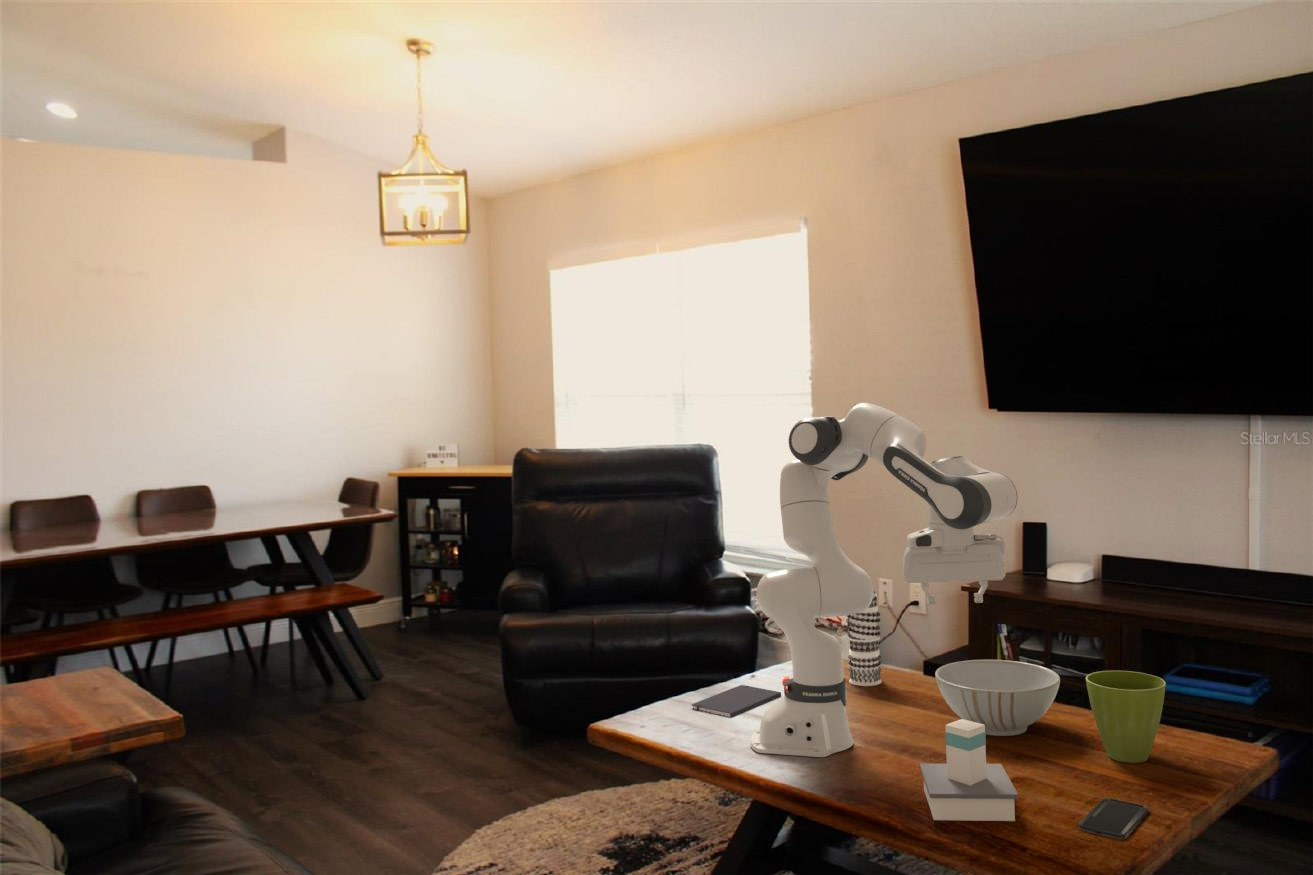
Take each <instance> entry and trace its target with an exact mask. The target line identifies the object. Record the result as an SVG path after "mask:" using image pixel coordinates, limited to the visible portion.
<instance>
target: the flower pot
mask: <svg viewBox="0 0 1313 875" xmlns="http://www.w3.org/2000/svg"><path fill="white" fill-rule="evenodd" d="M1085 676H1086V677H1085V683H1086V690H1087V693H1088V697H1089V698H1088V699H1089V703H1090V707H1091V710H1092V715H1093V717H1094V722H1095V725H1096V728H1097V731H1098V733H1099V737H1100V739H1101V742H1102V744H1103V746H1104V748H1105V752H1106V754H1107V756H1108V758H1110V759H1112V760H1114V761H1117V762H1121V763H1128V764H1129V763H1130V764H1134V763H1135V764H1136V763H1137V764H1138V763H1144V762H1146V761H1147V760H1148V759H1149V756H1150V754H1151V751H1152V748H1153V746H1154V743H1155V739H1156V737H1157V734H1158V729H1159V725H1160V722H1161V717H1162V712H1163V706H1164V702H1165V701H1164V700H1165V695H1166V684H1167V683H1166V681H1165V680H1164V679H1163V678H1161V677H1159V676H1156V675H1153V674H1148V673H1145V672H1138V671H1130V670H1129V671H1128V670H1102V671H1096V672H1095V671H1094V672H1092V673H1089V674H1087V675H1085Z"/></svg>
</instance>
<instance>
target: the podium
mask: <svg viewBox="0 0 1313 875" xmlns="http://www.w3.org/2000/svg"><path fill="white" fill-rule="evenodd" d="M919 769H920V773H921V775H922V778H923V791H924V794H925V797H926V800H927V803H928V806H929V809H930V813H931V816H932V818H933V821H968V822H969V821H972V822H973V821H974V822H975V821H976V822H977V821H978V822H979V821H980V822H981V821H983V822H987V821H988V822H989V821H990V822H992V821H993V822H994V821H995V822H1016V818H1015V817H1016V815H1015V814H1016V811H1015V809H1016V808H1015V800H1019V794H1018V792H1017V790H1016V788H1015V786H1014V785H1013V783H1012V781H1011V779H1010V777H1009V775H1008V774H1007V772H1006V770H1005V768H1004V766H1003V765H1002V763H986V776H987V778H986V779H984V780H982V781H979V782H977V783H975V784H973V785H967V784H964V783H961V782H958V781H954V780H951V779H948V778H947V763H919Z"/></svg>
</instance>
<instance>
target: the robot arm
mask: <svg viewBox="0 0 1313 875" xmlns="http://www.w3.org/2000/svg"><path fill="white" fill-rule="evenodd" d="M788 447H789V451H790V452H791V454H792V456H794V457H795V458H796V459H793V460H791V461H789V462H787V463H786V464H785V465H784V466H783V467H782V469H781V471H780V480H779V482H780V483H779V504H780V513H781V524H782V526H781V527H782V533H783V535H782V536H783V540H784V542H785V543H786V545H787V546H788V547H789V548H790V549H792V550H793V551H794V552H797V553H799V554H802V555H804V556H805V557H807V558H808V559H809V560H810V561H811V563H812V565H813V567H803V568H802V567H799V568H798V567H797V568H784V569H779V570H776V571H771V572H768V573H765V574H764V575H763V576H762V577H761V578H760V580H759V582H758V584H757V586H756V595H755V596H756V601H757V604H758V607H759V608H760V610H761V612H762V613H763V614H764V615H765V616H766V617H767V618H769V619H770V620H772V621H773V622H774V623H775V624H777V626H779V627H780V628H781V630H782V632H783V633H784V635H785V638H786V639H787V641H788V645H789V648H790V655H791V664H792V678H790V676H784V677H783V678H782V686H783V692H784V693H783V694H784V696H783V697H781V698H780V699H779V700H777V701H776V702H775V703H774V704H772V705H771V706H769V707H768V708H766V710H765V711H764V713H763V715H762V718H761V721H760V728H759V729H757V730H755V731H754V732H753V733H752V735H751V737H750V747H751V749H752V750H753V751H755V752H756V753H758V754H770V755H771V754H773V755H785V756H786V755H787V756H798V757H799V756H801V757H813V758H825V757H828V756H831V755H832V754H835V753H838V752H843V751H845V750H848V749H850V748H851V747H852V746H853V745H854V739H853V736H852V733H851V730H850V726H849V721H848V720H849V719H848V714H847V707H846V705H847V701H848V693H847V692H848V691H847V689H848V688H847V682H846V678H844V658H843V657H844V656H843V653H844V652H843V646H842V644H841V643H840V641H839V640H838V638H836V637H834V636H833V635H831V634H829V633H828V632H825V631H823V630H821V629H820V630H819V629H818V628H816V626H815V619H818V618H831V617H834V618H835V617H847V615H851V614H855V613H859V612H862V611H865V610H867V608H868V607H869V606H870V604H871V602H872V599H873V594H874V591H875V590H874V584H873V583H874V582H872V579H871V576H870V575H869V574H868V573H867V571H865V570H864V569H863V568H862V567H860V566H859V565H857V564H856V563H855V562H853V561H852V560H851V559H850V558H849V557H848V556H847V555H846V554H845V552H844V551H843V549H842V547H841V546H840V544H839V541H838V540H837V537H836V534H835V529H834V524H833V518H832V512H831V505H830V498H829V497H830V496H829V483H830V481H831V480H833V481H840V480H842V479H843V478H845V477H847V476H848V475H852V473H855V472H857V471H859V470H861V468H863V467H864V465H866V463H867V461H868V460H869V458H870V459H871V460H873V461H875V462H876V463H878V464H880V465H881V466H883V467H885V468H886V470H887V471H888V472H889V474H891V475H892V476H894V478H896V479H897V480H898V481H900V482H901V483H903V484H904V485H905V486H906V487H907V488H908V489H910V490H912V491H913V492H914V493H915V494H917V495H918V496H919V497H921V498H922V499H924V501H926V502H927V505H928V510H929V513H928V514H929V515H928V519H927V524H928V526H927V527H926V528H923V529H920V530H917V531H915V532H911V533H909V534H908V535H907V536H906V543H907V545H908V546H907V547H906V548H905V550H904V552H903V557H902V570H901V571H902V579H903V580H904V581H905V582H906V583H907V584H920V587H921V589H922V591H923V592H924V594H925V595H926V603H927V605H936V595H935V594H930V593H929V590H928V589H929V587H930V586H929V584H930V583H931V584H932V583H950V582H951V583H952V582H953V583H954V582H955V583H956V582H978V583H979V585H980V588H979V590H978V592H974V593H973V597H974V598H973V600H974V603H976V604H979V603H980V604H981V603H982V604H983V602H984V596H983V595H984V594H985V592H986V590H987V588H988V586H989V584H988V581H1002V580H1004V578H1005V576H1006V566H1005V561H1004V556H1003V555H1004V554H1005V552H1006V551H1005V550H1006V546H1005V544H1006V543H1005V541H1004V539H1003V537H1001V536H998V535H997V534H995V533H992V534H991V533H990V534H975V532H974V527H976V526H979V525H982V524H989V523H991V522H994V521H999V520H1002V519H1006V518H1007V517H1009V516H1010V515H1012V513H1014V512H1015V510H1016V507H1017V504H1018V492H1017V488H1016V486H1015V484H1014V482H1013V481H1012V480H1011V478H1009V477H1008V476H1006V475H1005V474H1002V473H998V472H994V471H990V470H988V469H985V468H982V467H980V466H978V465H976V464H974V463H972V462H971V461H970V460H969V459H968V458H967V457H965V456H962V455H957V456H956V455H955V456H949V457H944V458H943V457H942V458H939V459H936V460H934V461H932V462H931V463H930V462H928V461H927V460H925V459H924V458H925V455H926V450H927V437H926V435H925V431H923V430H922V429H921V427H918V426H917V425H916V424H915V423H914V422H912V421H911V420H909V419H907V418H906V417H904V416H902V415H900V414H899V413H896V412H894V411H892V410H890V409H888V408H886V407H883V406H880V405H877V404H873V403H871V402H862V403H858V404H856V405H855V406H853V407H851V409H850V410H849V411H848V412H847V414H846V415H845V417H844V418H842V419H840V420H839V419H837V418H836V417H834V416H833V415H832V416H831V415H830V416H814V417H812V416H811V417H807V418H803V419H801V420H798V421H797V422H796V423H795V424H794V425H793V427H792V428H791V430H790V432H789V436H788Z"/></svg>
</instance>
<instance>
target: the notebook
mask: <svg viewBox="0 0 1313 875" xmlns="http://www.w3.org/2000/svg"><path fill="white" fill-rule="evenodd" d="M780 697H782V692H781V691H777V690H771V689H766V688H761V687H755V686H750V685H745V684H740V685H737V686H734V687H732V688H730V689H727V690H724V691H723V692H719V693H717V694H714V695H712V696H709V697H707V698H704V699H702V700H699V701H696V702H694V703H692V704H691V706H692V709H693V708H694V709H693V710H696V709H697V710H696V711H700V710H704V711H703V712H705V711H707V712H706V713H709V712H711V714H716V715H719V714H721V715H720V716H723V715H725V716H724V717H727V718H728V717H729V718H733V717H735V716H737V715H740V714H743V713H745V712H747V711H749V710H752V709H755V708H757V707H760V706H761V705H763V704H766V703H768V702H770V701H773V700H776V699H779V698H780Z"/></svg>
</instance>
